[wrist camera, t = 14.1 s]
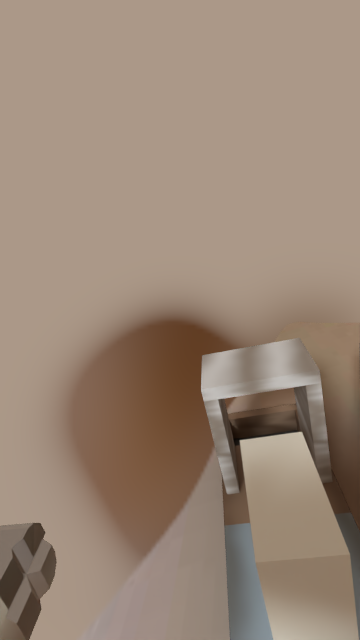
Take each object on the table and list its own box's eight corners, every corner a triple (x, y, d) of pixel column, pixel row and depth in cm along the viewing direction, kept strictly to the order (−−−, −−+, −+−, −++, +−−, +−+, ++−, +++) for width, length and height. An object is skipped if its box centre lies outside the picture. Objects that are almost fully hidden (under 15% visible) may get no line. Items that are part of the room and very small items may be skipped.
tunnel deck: (305, 423, 54) (289, 316, 49) (423, 706, 25) (421, 515, 19) (223, 435, 56) (199, 333, 50) (241, 710, 27) (187, 538, 21)
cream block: (312, 508, 36) (301, 431, 33) (359, 650, 25) (349, 554, 22) (255, 514, 37) (239, 440, 34) (276, 653, 26) (255, 562, 23)
